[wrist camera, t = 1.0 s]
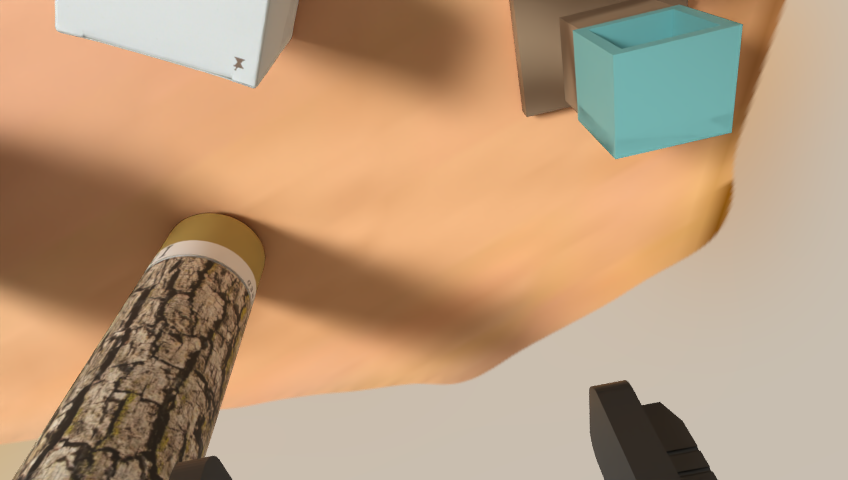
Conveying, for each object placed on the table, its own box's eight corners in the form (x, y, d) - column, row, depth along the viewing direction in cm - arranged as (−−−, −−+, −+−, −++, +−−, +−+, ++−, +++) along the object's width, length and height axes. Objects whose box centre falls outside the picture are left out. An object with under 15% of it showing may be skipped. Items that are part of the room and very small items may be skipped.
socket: (572, 30, 28) (612, 55, 23) (679, 4, 27) (742, 24, 23) (578, 120, 30) (615, 159, 26) (675, 97, 30) (731, 132, 25)
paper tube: (268, 214, 37) (126, 611, 16) (266, 290, 41) (148, 700, 20) (166, 203, 36) (-128, 612, 15) (173, 282, 40) (-57, 706, 19)
